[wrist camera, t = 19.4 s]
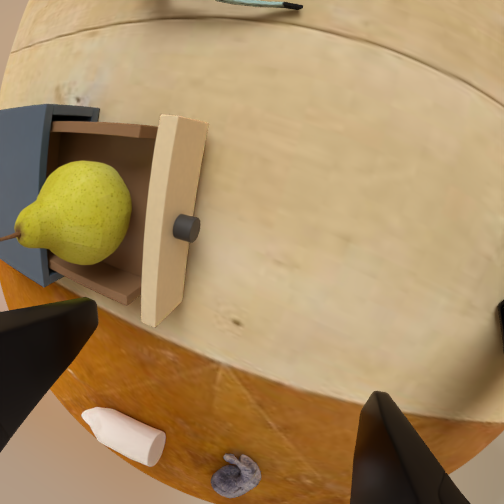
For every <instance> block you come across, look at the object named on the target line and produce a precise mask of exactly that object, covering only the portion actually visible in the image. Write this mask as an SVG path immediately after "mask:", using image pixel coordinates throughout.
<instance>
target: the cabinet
mask: <svg viewBox="0 0 504 504" xmlns="http://www.w3.org/2000/svg"><path fill="white" fill-rule="evenodd" d="M99 110H100V108H93V107H84V106H72V105H58V104H41V105H32V106H24V107H17V108H10V109H4V110H0V238H1V237H5V236H8V235H10V234H13V233H15V230H14V226H15V222H16V220H17V217H18V216H19V214H20V212H21V211H22V210H23V209H24V208H26V207H27V206H29V205H30V204H32V203H33V202H35V201H36V200H37V197H38V195H39V193H40V191H41V188H42V186H43V185H44V183H45V181H46V170H47V156H48V146H49V136H50V128H51V121H79V122H97V121H98V115H99ZM0 259H1V260H3V261H4V262H6V263H7V264H9V265H10V266H12V267H13V268H15V269H16V270H18V271H19V272H21V273H22V274H24V275H25V276H27V277H28V278H30V279H31V280H33V281H35V282H36V283H38V284H39V285H41V286H43V287H46V286H48V285H49V284H51V283H53V282H55V281H57V280H58V279H60V278H62V277H64V275H62V274H60V273H58V272H56V271H54V270H52V269H50V268H48V258H47V249H44V248H27V247H24V246H22V245H21V244H20V243H19V242H18V241H17V238H12V239H8V240H4V241H1V242H0Z"/></svg>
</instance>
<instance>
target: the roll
mask: <svg viewBox="0 0 504 504" xmlns="http://www.w3.org/2000/svg"><path fill="white" fill-rule="evenodd" d="M81 416H82V418H83V419H84V420H85V421H86V423H88V424H89V425H90V426H91V429H92V431H93V433H94V434H95V436H96V438H97V440H98V441H99V442H101V443H102V444H104V445H106V446H108V447H110V448H111V449H113V450H115V451H117V452H119V453H120V454H122V455H124V456H126V457H128V458H130V459H132V460H135V461H137V462H140V463H142V464H144V465H147V466H150V467H151V466H154V465H155V464H156V463H157V462H158V460H159V459H160V457H161V454H162V452H163V449H164V445H165V441H166V435H165V433H164V432H163V431H160V430H158V429H155V428H153V427H150V426H148V425H146V424H144V423H142V422H139V421H137V420H135V419H133V418H131V417H129V416H127V415H125V414H123V413H120V412H118V411H116V410H114V409H110V408H101V407H95V408H92V409H89V410H85V411H84V412H82V415H81Z"/></svg>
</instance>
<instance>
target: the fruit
mask: <svg viewBox="0 0 504 504" xmlns="http://www.w3.org/2000/svg"><path fill="white" fill-rule="evenodd" d="M131 212H132V202H131V196H130V192H129V190H128V188H127V186H126V185H125V183H124V181H123V179H122V177H121V176H120V175H119V173H118V172H117V171H116V170H115V169H114V168H112V167H111V166H109V165H107V164H104V163H99V162H92V161H84V160H82V161H75V162H70V163H68V164H65V165H63V166H61V167H59V168H57V169H56V170H55V171H54V172H53V173H52V174H50V175H49V177H48V178H47V180H46V181H45V183H44V185H43V186H42V188H41V191H40V193H39V195H38V197H37V200H36V201H35V202H33V203H32V204H30V205H29V206H27V207H26V208H24V209H23V210H22V211H21V212H20V214H19V216H18V217H17V220H16V222H15V226H14V230H15V233H13V234H10V235H8V236H5V237H1V238H0V242H1V241H4V240H8V239H12V238H17V241H18V242H19V243H20V244H21V245H22V246H24V247H27V248H44V249H50V250H51V252H53V253H54V254H55V255H56V256H58V257H59V258H61V259H63V260H65V261H67V262H70V263H74V264H79V265H93V264H96V263H98V262H100V261H102V260H104V259H105V258H107V257H108V256H109V255H111V254H112V253H113V252H114V251H115V250H116V249H117V248H118V247H119V245H120V244H121V242H122V241H123V239H124V237H125V235H126V233H127V230H128V228H129V223H130V217H131Z"/></svg>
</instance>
